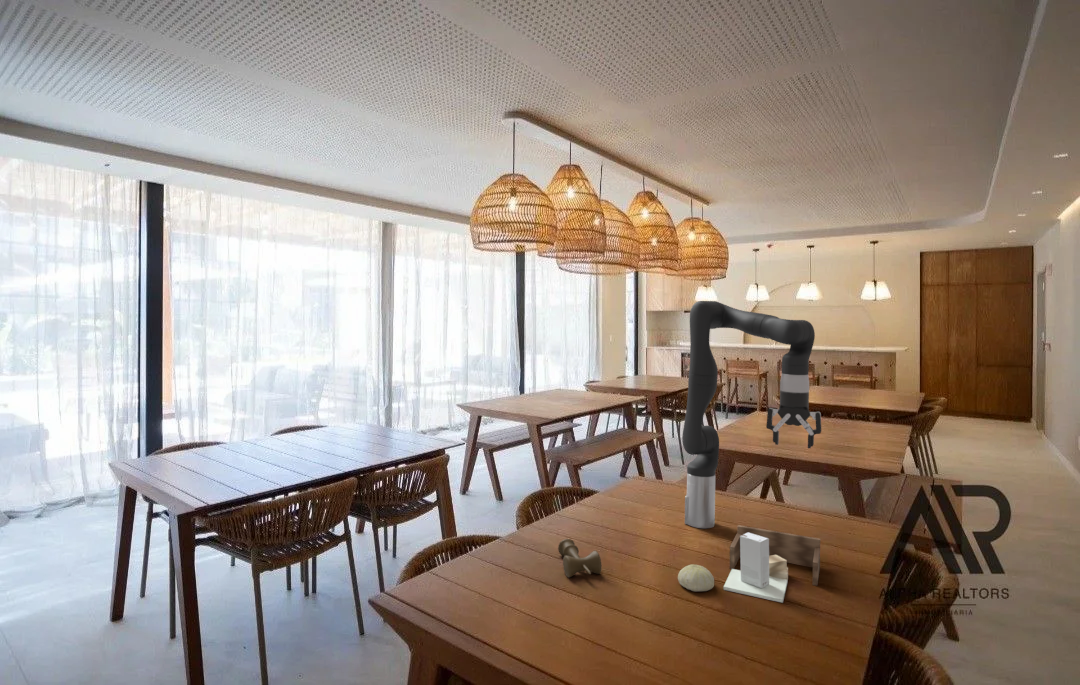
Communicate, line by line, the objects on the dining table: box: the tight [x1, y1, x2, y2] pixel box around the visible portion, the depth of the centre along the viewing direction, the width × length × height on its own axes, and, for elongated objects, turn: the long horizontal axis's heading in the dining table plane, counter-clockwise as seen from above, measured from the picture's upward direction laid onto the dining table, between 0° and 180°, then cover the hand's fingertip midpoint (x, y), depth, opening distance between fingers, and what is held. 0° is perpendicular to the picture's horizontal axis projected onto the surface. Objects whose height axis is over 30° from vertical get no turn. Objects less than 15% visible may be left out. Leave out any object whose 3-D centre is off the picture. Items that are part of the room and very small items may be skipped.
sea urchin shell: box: [677, 564, 715, 593], centre depth 147 cm, size 9×8×8 cm
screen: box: [729, 524, 821, 587], centre depth 158 cm, size 22×13×8 cm, turn 62°
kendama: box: [557, 538, 603, 579], centre depth 157 cm, size 6×10×20 cm
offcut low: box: [769, 567, 789, 580], centre depth 153 cm, size 8×4×2 cm, turn 67°
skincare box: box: [739, 532, 769, 588], centre depth 147 cm, size 6×4×12 cm
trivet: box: [723, 568, 789, 604], centre depth 147 cm, size 14×12×1 cm
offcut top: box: [769, 555, 788, 573], centre depth 153 cm, size 6×4×2 cm, turn 109°
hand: (792, 446), depth 163 cm, fingers open, 8 cm apart
